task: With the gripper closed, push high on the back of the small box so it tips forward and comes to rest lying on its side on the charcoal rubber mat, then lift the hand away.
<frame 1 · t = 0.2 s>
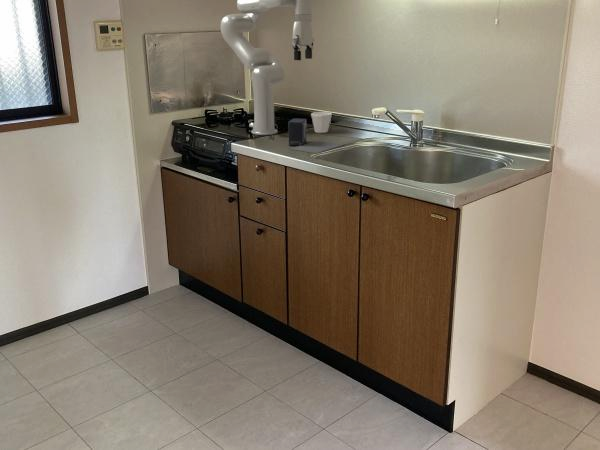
hand: (303, 59, 277), 36 cm above the counter, tool pointing down, fingers open, 9 cm apart
cup: (321, 132, 305), on the counter
small box: (297, 143, 279), on the counter, touching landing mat
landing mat: (317, 147, 273), on the counter
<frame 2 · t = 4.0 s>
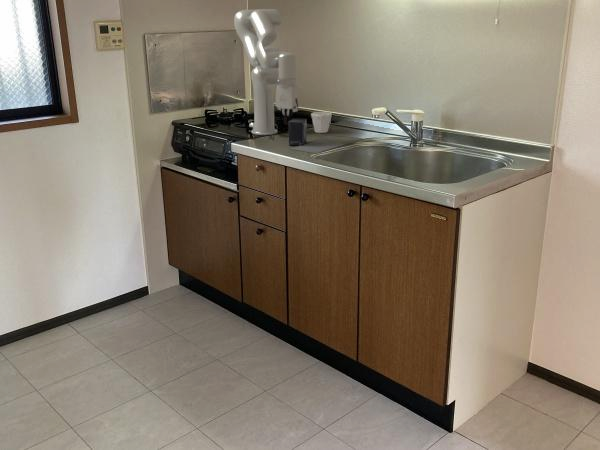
hand: (287, 123, 280), 8 cm above the counter, tool pointing down, fingers closed
small box: (297, 143, 279), on the counter, touching gripper, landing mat
everything else where it was.
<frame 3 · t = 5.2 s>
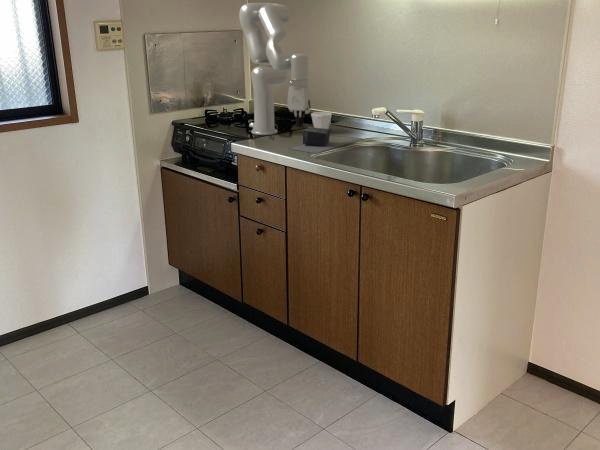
hand: (299, 125, 276), 8 cm above the counter, tool pointing down, fingers closed
small box: (304, 135, 278), point 4 cm above the counter, touching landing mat
everything else where it was.
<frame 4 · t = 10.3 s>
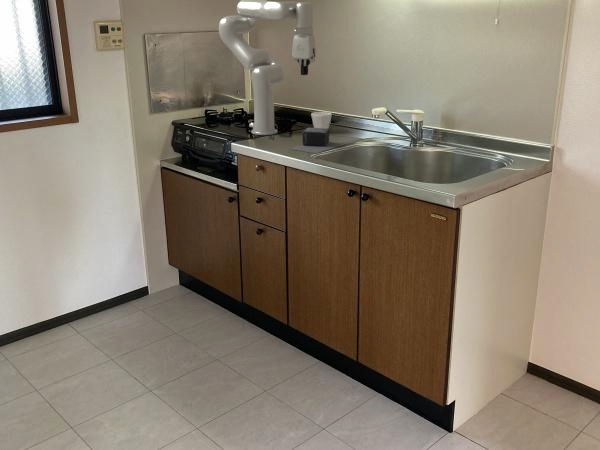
hand: (304, 74, 280), 29 cm above the counter, tool pointing down, fingers closed
nothing on the counter moved.
at the end: small box tilted 89°; small box inside the target area (4.7 cm from its centre), point 3.4 cm above the counter; small box touching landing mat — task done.
